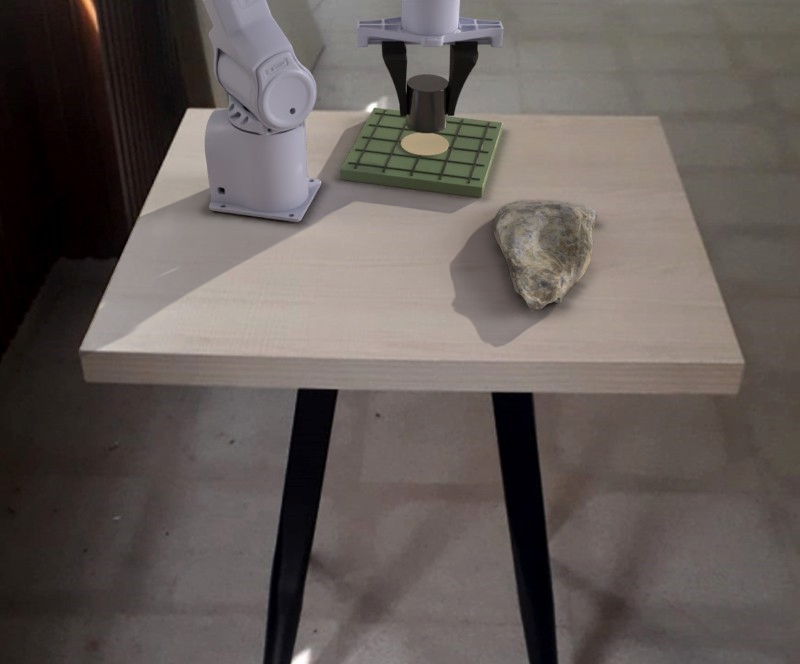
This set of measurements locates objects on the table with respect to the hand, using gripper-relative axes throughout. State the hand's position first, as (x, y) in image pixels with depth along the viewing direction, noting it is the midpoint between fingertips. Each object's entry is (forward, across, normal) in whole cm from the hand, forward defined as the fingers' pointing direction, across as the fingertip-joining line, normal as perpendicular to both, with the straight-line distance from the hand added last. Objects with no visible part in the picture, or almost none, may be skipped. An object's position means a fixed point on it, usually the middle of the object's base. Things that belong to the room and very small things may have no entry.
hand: (426, 111), depth 101 cm
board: (+5, 0, 0) cm, 5 cm away
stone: (+5, +10, -20) cm, 23 cm away
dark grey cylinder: (+1, 0, 0) cm, 1 cm away
